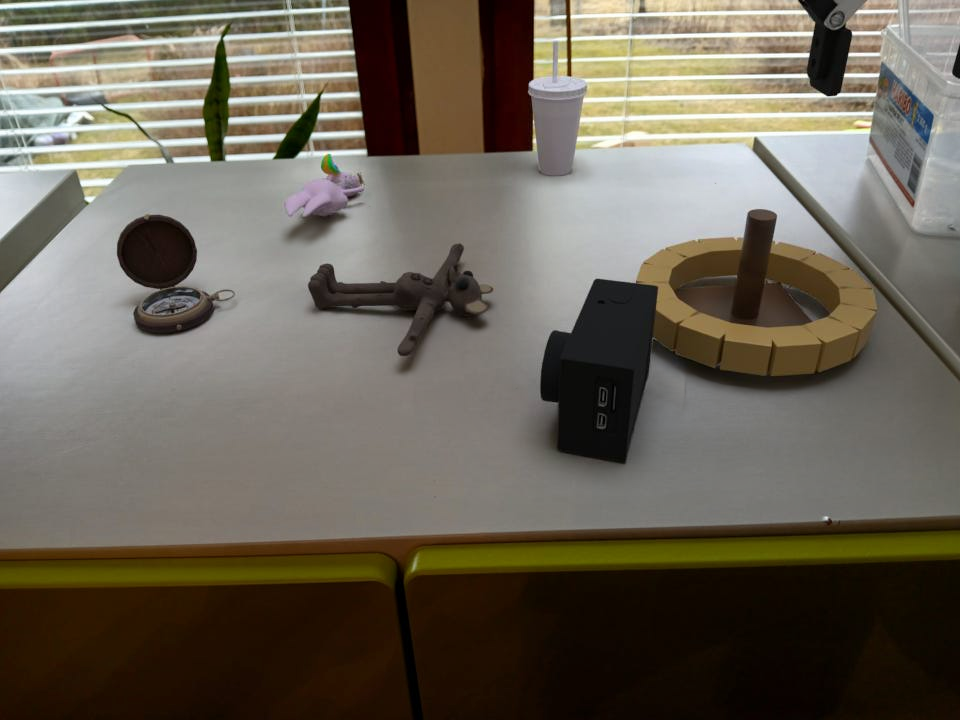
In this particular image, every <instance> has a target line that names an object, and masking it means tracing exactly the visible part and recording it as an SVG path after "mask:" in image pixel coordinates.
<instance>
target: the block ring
mask: <svg viewBox="0 0 960 720" xmlns="http://www.w3.org/2000/svg"><path fill="white" fill-rule="evenodd" d="M742 243H743V237H740V236H739V237H737V238H735V237H734V236H729V237H728V236H726V237H725V236H724V237H712V238H708V237H707V238H698V239H697V240H695V239H691V240H688V241H684V242H680V243H677V244H674V245H670V246H666V247H665V248H662V249H660V250H658V251H657V252H656V253H654V254H653V255H652V256H650V257H648V258H647V259H645V260H644V261H643V263H641V265H640V267H639V271H638V274H637V276H636V279H635V283H638V284H647V285H655V286H658V295H657V304H656V313H655V322H654V331H653V340H656V341H657V342H658V343H660V344H661V345H662V346H664V348H666V349H667V350H669V351H670V352H673V351H675V354H676V355H678V356H680V357H683V358H686V359H689V360H692V361H694V362H697V363H699V364H703V365H705V366H708V367H709V368H713V369H716V367H718V366H719V370H721V371H727V372H728V371H729V372H734V373H742V374H748V375H749V374H750V375H756V376H762V377H766V375H767V373H768V374H769V376H770V377H780V376H781V377H782V376H795V375H812V374H815V373H816V372H818V373H821V372H824V371H827V370H830V369H833V368H834V367H838V366H840V365H843V364H845V363H848V362H851V361H852V359H855V358H856V356H857V355H858V354H859V353H860V351H861V350H862V349H863V347H865V346H866V344H867V343H868V342H869V341H870V337H871V333H872V330H873V326H874V323H875V319H876V316H877V312H878V307H877V300H876V296H875V290H874V289H873V286H871V285H870V284H869V282H867V281H866V280H865V279H864V278H863V277H862V276H860V274H859V273H858V272H857V271H855V269H853V268H852V269H851V268H850V266H848V265H846V264H844V263H842V262H839V261H837V260H836V259H833V258H831V257H829V256H827V255H825V254H823V253H821V252H818V253H816V252H817V250H813V249H809V248H807V247H801V246H798V245H795V244H790V243H787V242H783V241H779V242H777V243H776V241H775V240H773V241H772V247H771V252H770V257H769V262H768V268H767V273H766V278H765V280H768V281H771V282H773V283H781V284H782V285H783V286H784V285H785V286H788V287H792V288H794V289H797V290H799V291H801V292H802V293H804V294H806V295H808V296H810V297H812V298H814V300H817V301H818V302H819V303H820V304H821V305H822V306H823V307H824V308H825V310H826V311H828V313H829V315H828V316H826V317H822V318H820V319H817V320H813V321H812V322H811V323H808V324H805V325H801V326H786V327H771V328H765V327H758V326H750V325H742V324H735V323H730V322H727V321H724V320H721V319H718V318H715V317H712V316H709V315H706V314H703V313H700V312H698V311H696V310H695V309H693V308H692V307H690V306H689V305H687V304H686V303H684V302H682V301H681V300H679V299H678V298H677V296H676V295H675V293H674V291H676V290H677V289H678V288H682V287H683V285H686V284H689V283H693V282H696V281H699V280H702V279H706V278H717V277H719V278H720V277H732V276H733V277H735V276H736V277H737V273H738V267H739V261H740V255H741V249H742Z"/></svg>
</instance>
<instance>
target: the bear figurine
mask: <svg viewBox="0 0 960 720" xmlns="http://www.w3.org/2000/svg"><path fill="white" fill-rule="evenodd" d="M464 250H465V246H464V245H463V244H462V243H459V242H458V243H454V244H452V246H451V247H450V249H449V253H448V255H447V257H446V259H445V260H444V262H443V263H442V265H441V266H440V268H439V269H438V270H437V272H436V274H435V275H434V276H433V278H432V277H429V276H426V275H424V274H422V273H420V272H413V271H406V272H404V273H402V274H401V276H400V277H398V279H397V280H396V281H395V282H387V281H385V280H384V281H383V280H381V281H380V282H362V283H361V282H359V283H358V282H357V283H354V282H353V283H346V282H343V281H337V278H336V274H335V268H334V266H333V264H331V263H323V264H320V265H319V267H318V269H317V271H316V273H314V274H313V275H311V276H310V279H309V281H308V283H307V288H308V291H309V293H310V295H311V298H312V300H313V303H314V305H315V308H317V309H319V310H322V309H326V308H330V307H335V308H339V307H352V309H357V308H360V307H386V306H387V307H392V306H395V307H397V308H398V309H400V310H404V311H416V312H415V314H414V317H413V319H412V322H411V324H410V326H409V328H408V331H407V333H406V334H405V336H404V337H403V339H402V340H401V342H400V344H398V346H397V354H398V355H399V356H401V357H407V356H409V355H412V354H413V353H414V351H415V349H416V347H417V346H418V344H419V342H420V339H421V337H422V335H423V333H424V332H425V330H426V327H427V326H428V323H429V321H430V320H431V319H432V318H433V316H434V313H435V312H439V311H440V310H442V309H443V308H444V306H445V303H446V302H449V304H450V306H451V307H452V309H453V310H454V311H455V312H456V313H457V314H458V315H461V316H464V317H467V316H472V315H480V314H484V313H486V312H487V311H488V310H489V305H488V304H486V303H485V301H483V296H482V295H487V294H488V295H489V294H492V293H493V292H494V287H493V286H491V285H488V284H479V282H478V281H477V280H476V278H475V277H474V273H473V272H472V271H471V270H465V271H463V272H462V273H461V272H460V270H459V263H460V261H461V258H462V255H463V253H464Z"/></svg>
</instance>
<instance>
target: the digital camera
mask: <svg viewBox="0 0 960 720" xmlns="http://www.w3.org/2000/svg"><path fill="white" fill-rule="evenodd" d="M657 295H658V286H655V285H647V284H638V283H636V282H628V281H621V280H613V279H605V278H595V279H593V281H592V284H591V285H590V288H589V290H588V293H587V295H586V298H585V300H584V303H583V305H582V307H581V309H580V311H579V313H578V316H577V318H576V321H575V323H574V325H573V328H572V330H571V332H567V331H560V330H556V329H555V330H552V331H551V332H550V334H549V336H548V339H547V341H546V345H545V348H544V353H543V358H542V363H541V368H540V369H541V370H540V383H539V384H540V385H539V391H540V398H541V400H542V401H544V402H550V403H554V404H555V403H556V404H558V409H557V436H556V437H557V439H556V449H557V450H558V451H559V452H563V453H568V454H573V455H580V456H585V457H590V458H596V459H601V460H606V461H613V462H616V463H617V462H618V463H622V464H625V463H626V462H627V457H628V454H629V451H630V446H631V443H632V438H633V435H634V432H635V428H636V424H637V420H638V417H639V411H640V408H641V404H642V401H643V396H644V392H645V388H646V385H647V381H648V377H649V374H650V366H651V359H652V348H653V340H654V338H653V331H654V322H655V313H656V304H657Z"/></svg>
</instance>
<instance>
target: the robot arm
mask: <svg viewBox="0 0 960 720" xmlns="http://www.w3.org/2000/svg"><path fill="white" fill-rule="evenodd" d="M797 1H798V3H799V4H800V6H802V8H803V9H804V10H805V11H806V13H807V15H808V18H809V20H810V21H812V22H813V23H814V27H813V32H812V38H811V44H810V49H809V55H808V60H807V65H806V75H807V77H808V79H809V86H810V87H811V88H813V89H814V90H815V91H818V92H819V93H821V94H822V95H824V96H826V97H836V96H838V95H839V94H841V92H842V88H843V82H844V78H845V73H846V69H847V63H848V59H849V54H850V50H851V44H852V40H853V32H852V30H851V29H850V28H848V27H846V26H847V23H848V22H849V21H850V19H851V18H852V17H853V16H854V15H856V13H857V12H858V11H859V10H860V9H861V7H863V5H864V4H865V3H866V2H867V1H868V0H797ZM951 73H952V76H953V77H955V79H959V80H960V43H959V45H958V47H957V52H956V55H955V58H954V62H953V67H952V70H951Z"/></svg>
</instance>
